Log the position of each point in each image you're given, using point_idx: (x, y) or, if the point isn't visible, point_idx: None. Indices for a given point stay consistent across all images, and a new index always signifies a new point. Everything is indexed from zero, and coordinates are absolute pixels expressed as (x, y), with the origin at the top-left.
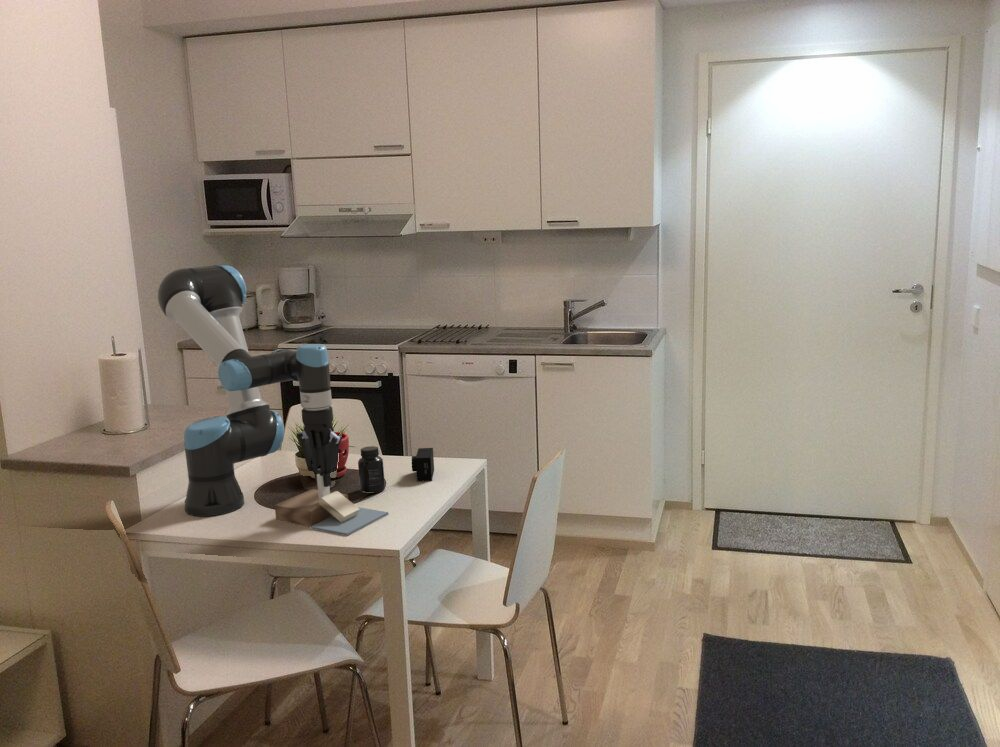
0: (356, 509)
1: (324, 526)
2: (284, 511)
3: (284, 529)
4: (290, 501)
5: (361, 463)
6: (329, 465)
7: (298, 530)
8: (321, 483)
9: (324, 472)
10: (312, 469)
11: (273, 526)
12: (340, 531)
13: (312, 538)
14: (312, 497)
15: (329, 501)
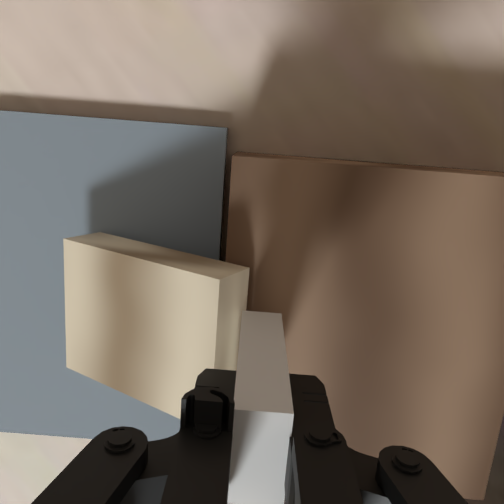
0: (71, 350)
1: (153, 154)
2: (458, 171)
3: (368, 67)
4: (489, 275)
5: None
6: (68, 493)
7: (280, 82)
8: (239, 365)
9: (182, 431)
10: (375, 469)
11: (461, 85)
12: (16, 118)
13: (123, 3)
14: (390, 379)
15: (172, 290)
